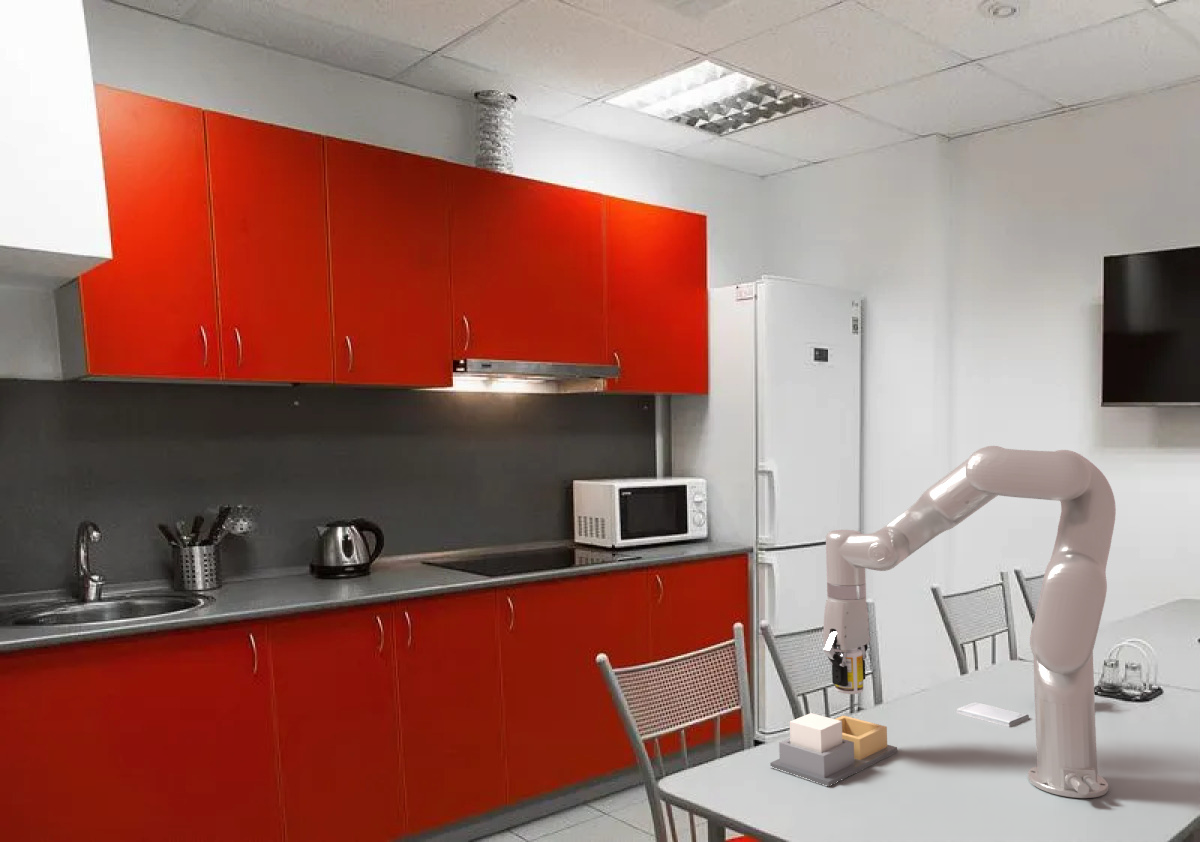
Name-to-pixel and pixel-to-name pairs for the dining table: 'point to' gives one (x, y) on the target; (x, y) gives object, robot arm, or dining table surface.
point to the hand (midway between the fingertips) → (849, 680)
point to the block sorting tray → (832, 747)
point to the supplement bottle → (853, 672)
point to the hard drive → (992, 714)
